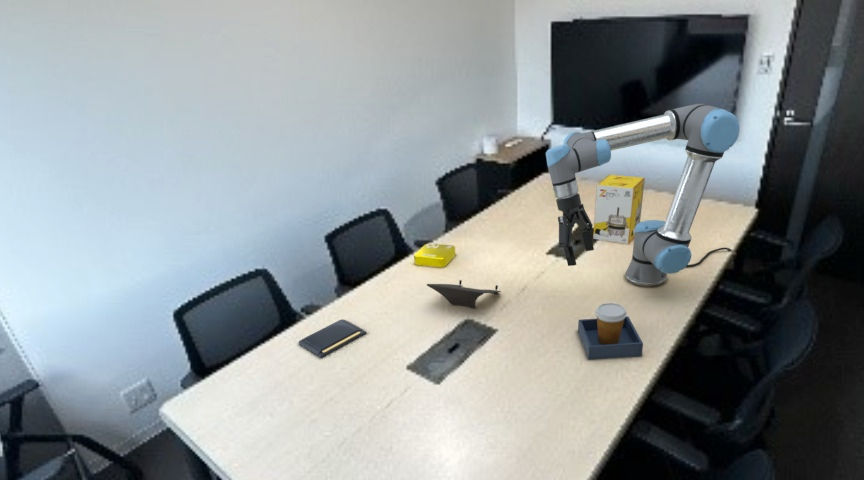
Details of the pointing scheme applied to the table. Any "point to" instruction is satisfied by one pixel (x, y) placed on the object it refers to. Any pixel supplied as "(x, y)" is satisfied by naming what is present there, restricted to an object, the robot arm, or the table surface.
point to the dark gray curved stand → (461, 293)
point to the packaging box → (618, 208)
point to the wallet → (331, 338)
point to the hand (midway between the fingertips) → (581, 257)
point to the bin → (594, 350)
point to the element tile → (434, 255)
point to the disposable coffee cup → (610, 322)
